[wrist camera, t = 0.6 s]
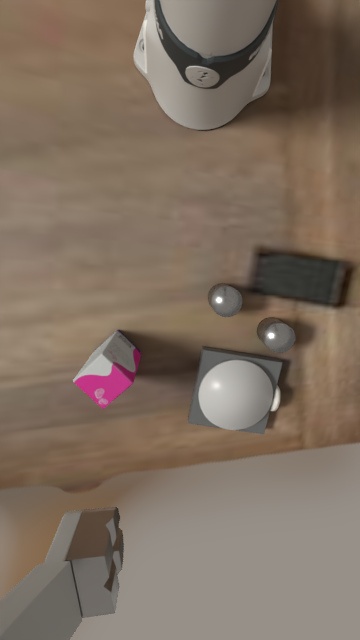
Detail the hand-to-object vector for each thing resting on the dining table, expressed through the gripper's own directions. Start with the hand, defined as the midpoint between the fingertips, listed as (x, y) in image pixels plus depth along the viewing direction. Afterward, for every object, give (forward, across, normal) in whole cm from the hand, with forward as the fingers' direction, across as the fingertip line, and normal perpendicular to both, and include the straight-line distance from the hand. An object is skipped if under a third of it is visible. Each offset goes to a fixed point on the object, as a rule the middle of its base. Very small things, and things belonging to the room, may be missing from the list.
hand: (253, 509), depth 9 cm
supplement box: (+42, +12, +7) cm, 44 cm away
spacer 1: (+41, -6, 0) cm, 42 cm away
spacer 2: (+41, -13, +6) cm, 44 cm away
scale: (+42, -7, +16) cm, 46 cm away
